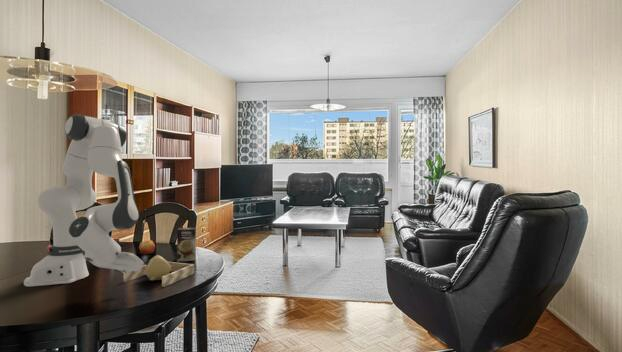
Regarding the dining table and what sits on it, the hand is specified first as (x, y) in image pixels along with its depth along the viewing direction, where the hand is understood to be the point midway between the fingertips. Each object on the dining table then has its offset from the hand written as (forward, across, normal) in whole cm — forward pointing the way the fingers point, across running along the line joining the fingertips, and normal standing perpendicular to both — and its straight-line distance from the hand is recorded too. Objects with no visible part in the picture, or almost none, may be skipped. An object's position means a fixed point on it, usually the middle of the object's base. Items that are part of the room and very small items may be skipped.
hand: (128, 271), depth 140 cm
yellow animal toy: (+16, -1, -5) cm, 17 cm away
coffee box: (+39, +8, -28) cm, 48 cm away
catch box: (+18, 0, -8) cm, 19 cm away
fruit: (+42, +37, -31) cm, 64 cm away
